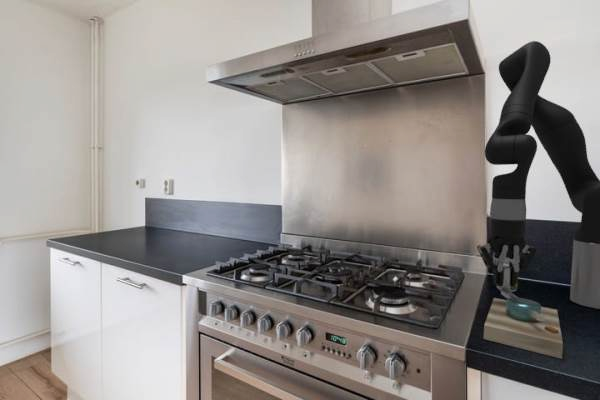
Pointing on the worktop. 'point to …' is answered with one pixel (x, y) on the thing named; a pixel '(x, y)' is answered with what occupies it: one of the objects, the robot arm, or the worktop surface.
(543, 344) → the stand
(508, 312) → the teal knob with stem
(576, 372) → the worktop surface
